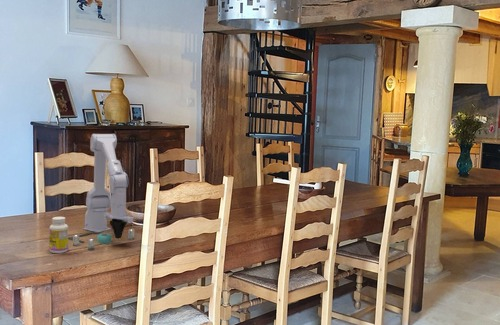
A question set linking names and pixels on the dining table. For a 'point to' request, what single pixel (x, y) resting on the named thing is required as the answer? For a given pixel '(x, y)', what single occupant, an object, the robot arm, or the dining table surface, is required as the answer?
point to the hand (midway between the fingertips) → (118, 237)
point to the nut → (104, 238)
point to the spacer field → (92, 241)
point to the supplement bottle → (58, 235)
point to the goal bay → (84, 235)
